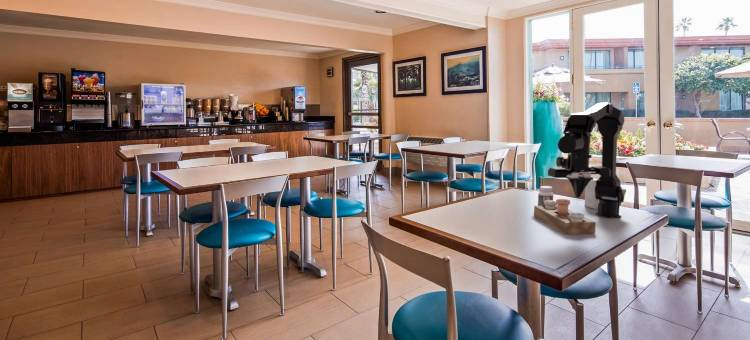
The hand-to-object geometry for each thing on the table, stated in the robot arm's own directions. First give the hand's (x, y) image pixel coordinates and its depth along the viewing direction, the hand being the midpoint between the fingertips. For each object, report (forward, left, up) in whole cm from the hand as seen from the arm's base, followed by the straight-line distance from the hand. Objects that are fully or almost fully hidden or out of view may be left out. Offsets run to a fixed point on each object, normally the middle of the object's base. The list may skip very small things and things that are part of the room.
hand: (577, 197), depth 140 cm
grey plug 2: (0, 0, -12) cm, 12 cm away
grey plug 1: (0, -19, -12) cm, 22 cm away
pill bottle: (-3, -29, -12) cm, 32 cm away
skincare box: (-25, -32, -12) cm, 43 cm away
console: (0, -9, -12) cm, 15 cm away
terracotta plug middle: (0, -9, -9) cm, 13 cm away
